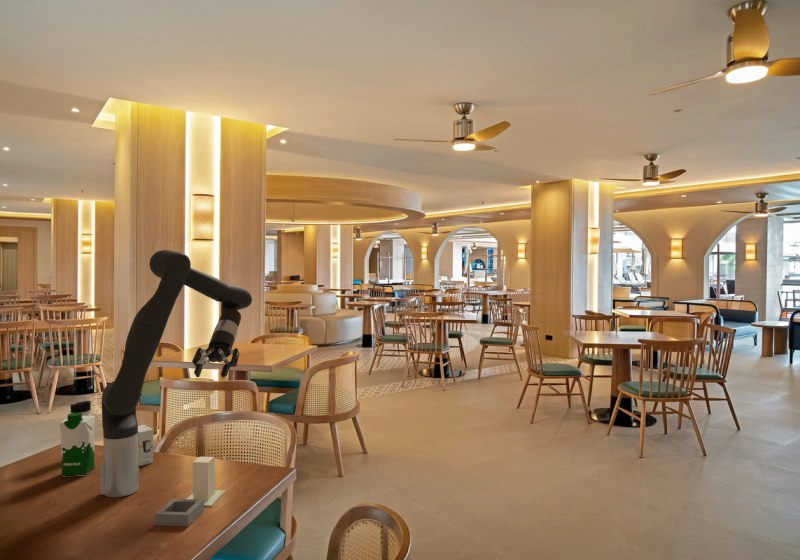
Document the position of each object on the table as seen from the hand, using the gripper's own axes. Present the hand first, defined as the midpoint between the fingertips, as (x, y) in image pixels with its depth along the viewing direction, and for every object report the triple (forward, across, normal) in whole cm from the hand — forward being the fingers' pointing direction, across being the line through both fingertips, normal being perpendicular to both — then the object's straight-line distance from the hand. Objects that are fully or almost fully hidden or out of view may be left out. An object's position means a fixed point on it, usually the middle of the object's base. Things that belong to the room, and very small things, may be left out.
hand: (209, 376), depth 168 cm
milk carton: (+23, -45, +24) cm, 56 cm away
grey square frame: (+43, +4, +4) cm, 43 cm away
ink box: (+15, -30, +31) cm, 46 cm away
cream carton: (+34, +5, +12) cm, 36 cm away
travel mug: (+13, -54, +33) cm, 65 cm away
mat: (+34, +5, +12) cm, 36 cm away
